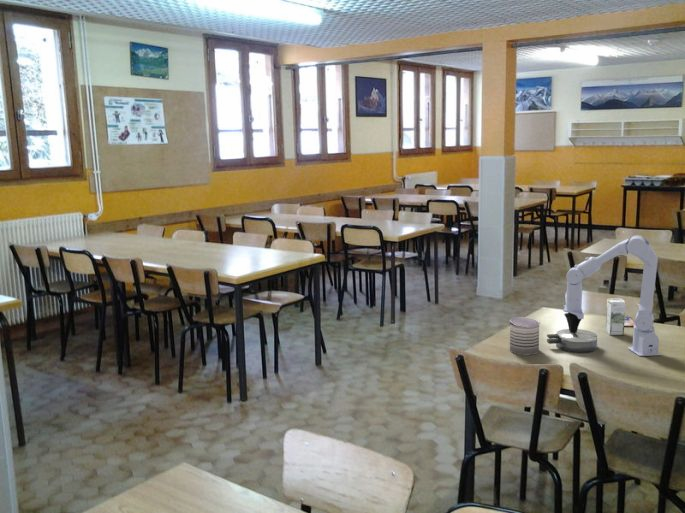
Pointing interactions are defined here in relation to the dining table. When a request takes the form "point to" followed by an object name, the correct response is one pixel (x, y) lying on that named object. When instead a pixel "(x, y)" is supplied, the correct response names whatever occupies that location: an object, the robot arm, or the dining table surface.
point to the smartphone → (629, 322)
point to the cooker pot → (574, 346)
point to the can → (524, 335)
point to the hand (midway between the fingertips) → (573, 331)
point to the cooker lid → (574, 336)
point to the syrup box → (615, 316)
